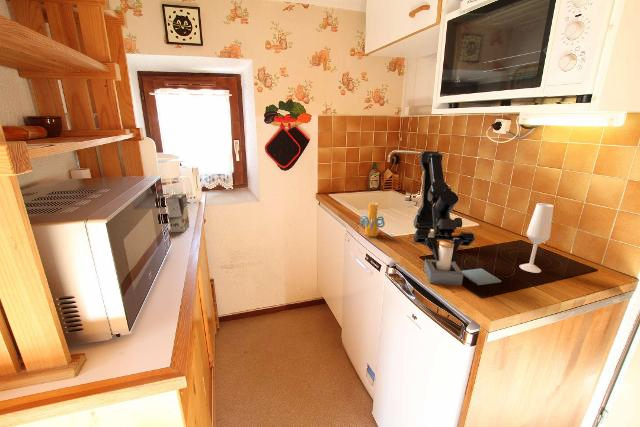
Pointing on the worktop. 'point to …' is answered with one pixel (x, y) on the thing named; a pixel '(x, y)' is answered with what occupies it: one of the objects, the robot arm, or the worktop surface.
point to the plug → (445, 255)
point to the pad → (480, 276)
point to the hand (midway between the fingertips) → (445, 261)
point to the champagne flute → (538, 232)
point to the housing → (443, 274)
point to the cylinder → (372, 221)
